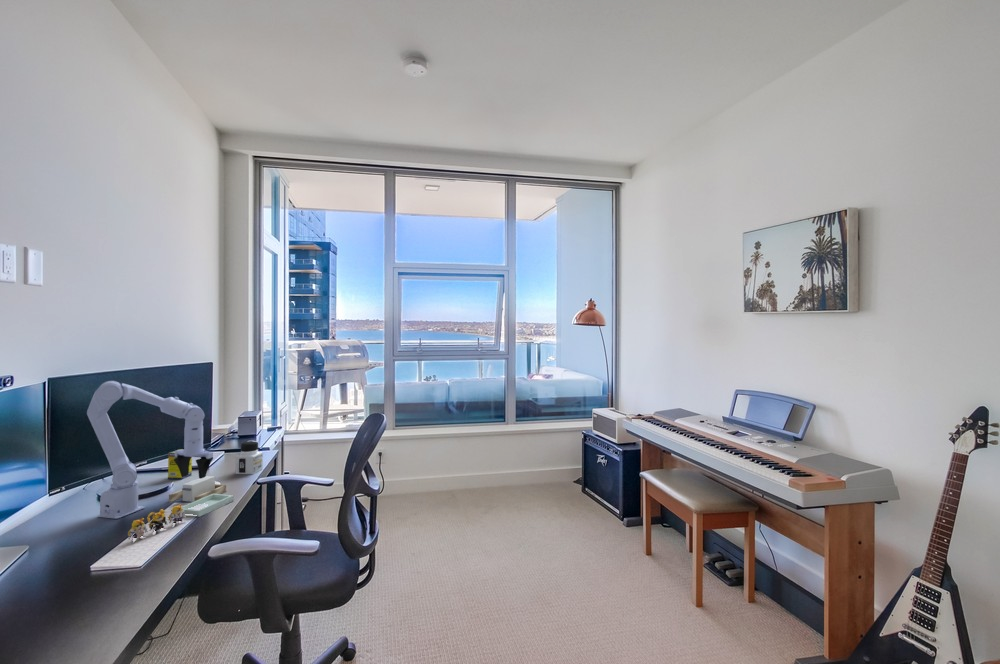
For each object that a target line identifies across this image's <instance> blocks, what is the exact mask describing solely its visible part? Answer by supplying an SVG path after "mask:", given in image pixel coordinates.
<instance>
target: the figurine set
mask: <svg viewBox="0 0 1000 664" xmlns="http://www.w3.org/2000/svg"><path fill="white" fill-rule="evenodd" d="M181 507H182V504H177V505H175V506H174V505H173V507H172V508H171V510H170V512H171V513H170V514H169V515H168V517H167V518H168V521H166V520H167V519H166V515H165V513H166V510H164V509H163V508H161V509H160V510H159V512H154V511H152V512H150V513H149V514H148V515H147V517H146V519H147V522H148V528H149V530H148V528H147V524H145V522H144V520H145V518H144V517H141V518H140V519H136V520H133V522H132V523H131V527H130V529H129V531H128V532H127V536H128V538H127V539H128V540H131V539H132V538H140V537H141V536H143V535H144V536H145V533H148V531H149V532H152V531H154V530H155V531H157V532H158V531H160V529H161V528H164V529H165V526H166V525H167V526H168V525H169V524H171V523H172V524H173V523H176V524H177V523H179V521H183V519H184V518H187V516H185V514H184V510H183V509H182V508H181ZM151 516H152V517H151Z"/></svg>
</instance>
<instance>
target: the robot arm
mask: <svg viewBox="0 0 1000 664" xmlns="http://www.w3.org/2000/svg"><path fill="white" fill-rule="evenodd" d="M121 398H122V400H123V401H124V400H125V401H126V400H132V399H133V400H137V401H141V402H144V403H147V404H150V405H153V406H156V407H159V409H160V412H161V413H163V414H166V415H170V416H172V417H175V418H178V419H183V420H184V429H183V431H184V434H183V436H184V439H183V441H184V442H183V448H184V450H179V449H177V451H176V450H174V451H175V456H177V458H175V459H174V461H175V463H176V464H177V466H178V468H179V470H180V473H181V476H182V477H185V476H187V475H188V473H189V463H190V459H191V457H192V458H198V459H195V463H196V465H197V468H198V479H199V478H200V479H201V478H204V477H206V476H207V474H208V470H209V467H210V465H211V464H212V463H211V462H212V461H213V460H214V452H213V451H209V450H206V449H205V448H204V425H203V424H204V419H205V417H206V414H205V412H204V410H203V409H202V408H201V407H200V406H198V405H197V404H194V403H192V402H186V401H183V400H180V398H179V397H178V396H174V397H173V396H169V397H166V398H164V397H161V396H159V395H156V394H155V393H152V392H149V391H147V390H144V389H143V388H139V387H137V386H134V385H130V384H127V383H123V382H121V383H120V382H118V381H116V380H107V381H104V382H102V383H101V384H100V385H99V386H98V387H97V388H96V390H95V391H94V394H93V396H92V398H91V400H90V402H89V405H88V408H87V410H86V415H87V417H88V420H89V422H90V424H91V427H92V428H93V430H94V433H95V435H96V438H97V440H98V441H99V444H100V446H101V448H102V450H103V452H104V454H105V457H106V458H107V461H108V463H109V466H110V470H111V472H112V480H111V481H112V484H110V487H109V489H108V490H105V491H103V492H102V493H101V495H100V497H99V499H100V501H99V514H98V515H97V518H98V517H99V518H107V519H120V518H122V517H125V516H128V515H131V514H133V513H135V512H139V511H141V510H144V509H145V508H146V506H145V505H143V506H142V505H139V480H137V478H138V473H137V467H136V466H137V465H135V464H134V463H132V461H130V459H129V457H128V456H127V454H126V452H125V450H124V448H123V445H122V443H121V441H120V439H119V437H118V434H117V432H116V430H115V427H114V425H113V423H112V421H111V419H110V416H109V414H108V411H109V410H110V408H111V407H112V406H113V404H115V403H116V402H118V401H119V400H120V399H121Z"/></svg>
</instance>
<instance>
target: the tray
mask: <svg viewBox="0 0 1000 664" xmlns="http://www.w3.org/2000/svg"><path fill="white" fill-rule="evenodd" d="M234 496H235V495H232V494H224V493H222V494H211V495H208V496H206V497H204V498H201V499H199V500H197V501H193V502H190V503H188V504H185V505H181V508H182V509H183V510H184V514H193V515H197V516H198V517H197V518H200V517H203V516H204V515H207V514H209V513H211V512H213V511H215V510H217V509H219V508H223V506H226V505H228V504H230V503H232V502H234V500H235V499H234ZM204 503H205V504H208V506H207V507H204V508H202V509H200V510H194V509H188V508H191V507H194V506H196V505H198V504H204Z"/></svg>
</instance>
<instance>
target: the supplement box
mask: <svg viewBox="0 0 1000 664" xmlns="http://www.w3.org/2000/svg"><path fill="white" fill-rule="evenodd" d="M177 450H184V449H183V448H181V449H177ZM177 450H176V449H175V450H174V451H170V452H168V461H167V462H168V464H167V465H168V466H167V469H168V470H167V473H168V474H167V480H184V479H187V478H188V477H190V476H192V471H193V469H192V466H193V462H192V460H193V457H191V459H190V463H189V473H188V475H187V476H185V477H182V476H181V473H180V470H179V468H178V466H177V464H176V463H175V461H174V459H175V458H177V456H175V451H177Z"/></svg>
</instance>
